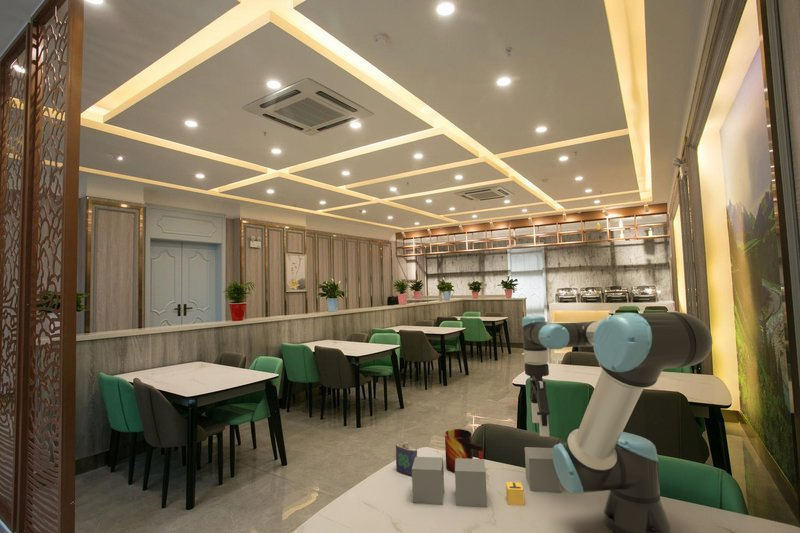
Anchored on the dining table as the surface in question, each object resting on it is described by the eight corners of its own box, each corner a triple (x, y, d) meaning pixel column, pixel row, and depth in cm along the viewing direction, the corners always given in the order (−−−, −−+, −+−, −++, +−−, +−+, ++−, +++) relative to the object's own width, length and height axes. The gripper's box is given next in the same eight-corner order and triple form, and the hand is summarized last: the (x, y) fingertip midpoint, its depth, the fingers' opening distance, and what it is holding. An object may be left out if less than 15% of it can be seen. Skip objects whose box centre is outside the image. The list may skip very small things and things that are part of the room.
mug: (483, 476, 133) (481, 440, 134) (443, 472, 138) (442, 437, 138) (486, 464, 143) (484, 430, 144) (448, 460, 147) (447, 428, 148)
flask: (419, 475, 136) (418, 443, 137) (414, 478, 134) (412, 446, 135) (399, 468, 142) (398, 437, 143) (393, 471, 140) (392, 440, 140)
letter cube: (521, 497, 119) (521, 481, 120) (524, 505, 115) (523, 489, 115) (506, 496, 120) (505, 481, 120) (508, 504, 115) (507, 488, 116)
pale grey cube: (554, 478, 130) (552, 448, 131) (560, 492, 121) (558, 459, 122) (526, 477, 132) (524, 447, 132) (530, 490, 123) (528, 458, 124)
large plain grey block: (444, 489, 125) (443, 457, 126) (442, 504, 116) (441, 470, 117) (416, 488, 127) (415, 456, 127) (412, 503, 118) (411, 468, 119)
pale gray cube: (485, 491, 123) (484, 459, 124) (487, 507, 114) (485, 472, 115) (456, 490, 125) (455, 458, 125) (456, 505, 116) (454, 470, 116)
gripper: (519, 357, 142) (523, 417, 140) (530, 369, 118) (535, 442, 116) (540, 357, 141) (544, 417, 139) (556, 369, 116) (561, 442, 114)
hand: (540, 429), depth 127 cm, fingers open, 13 cm apart
